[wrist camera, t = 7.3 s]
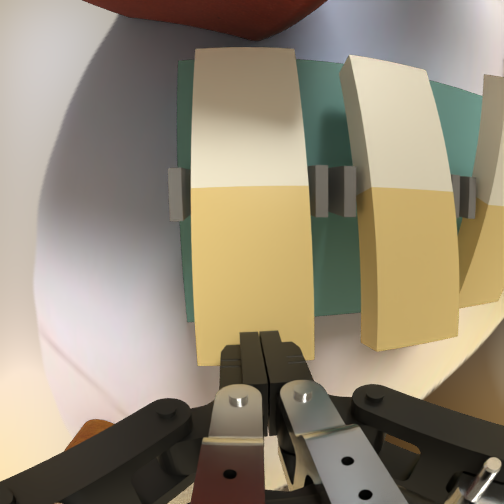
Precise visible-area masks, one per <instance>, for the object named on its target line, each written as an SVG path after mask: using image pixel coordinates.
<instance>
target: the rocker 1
mask: <svg viewBox="0 0 504 504" xmlns="http://www.w3.org/2000/svg"><path fill="white" fill-rule="evenodd" d="M191 243H192V276H193V299H194V318H195V335H196V350H197V363H198V366H220V358H221V351H222V350H223V349H224V347H225V346H226V345H240V334H239V332H257V331H258V334H259V331H274V330H278V332H279V335H280V338H281V341H282V342H291V341H292V342H293V343H295V344H296V345H297V346H299V347H300V349H301V351H302V354H303V356H304V358H305V360H314V285H313V256H312V234H311V216H310V200H309V185H308V172H307V159H306V148H305V137H304V126H303V117H302V107H301V98H300V89H299V81H298V73H297V65H296V57H295V50H294V49H289V48H265V47H226V48H203V49H195V62H194V80H193V103H192V134H191Z"/></svg>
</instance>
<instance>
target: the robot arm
mask: <svg viewBox="0 0 504 504" xmlns="http://www.w3.org/2000/svg"><path fill="white" fill-rule="evenodd" d="M239 334H240V345H226V346H225V347H224V349H223V350H222V351H221V358H220V386H219V391H218V392H217V393H216V396H215V400H214V401H212V402H211V403H209V404H207V405H204V406H201V407H197V408H192V409H190V407H189V405H188V404H186V403H185V402H183V401H181V400H178V399H173V398H165V399H160V400H156V401H154V402H152V403H150V404H149V405H147V406H145V407H143V408H142V409H140V410H138V411H137V412H135V413H133V414H132V415H130V416H128V417H126V418H125V419H123V420H121V421H119V422H118V423H116V424H114V425H112V426H111V427H109V428H107V429H105V430H103V431H102V432H100V433H98V434H96V435H94V436H92V437H91V438H89V439H87V440H85V441H83V442H81V443H79V444H77V445H76V446H74V447H72V448H70V449H68V450H66V451H64V452H62V453H60V454H58V455H56V456H54V457H52V458H50V459H49V460H46V461H44V462H42V463H40V464H38V465H36V466H34V467H32V468H29V469H27V470H25V471H23V472H21V473H19V474H17V475H14V476H12V477H10V478H8V479H6V480H3V481H1V482H0V504H167V503H168V502H170V501H171V500H172V499H173V498H175V497H176V496H177V495H179V494H180V493H181V492H182V491H184V490H185V489H186V488H187V487H189V486H190V485H191V484H192V483H193V482H194V487H193V493H192V498H191V502H190V503H187V504H504V426H502V425H499V424H495V423H491V422H488V421H485V420H482V419H478V418H475V417H472V416H468V415H465V414H462V413H459V412H456V411H453V410H450V409H447V408H444V407H441V406H438V405H435V404H432V403H429V402H426V401H423V400H420V399H418V398H415V397H412V396H409V395H406V394H404V393H401V392H398V391H396V390H393V389H390V388H388V387H385V386H382V385H376V384H370V385H364V386H361V387H359V388H357V389H356V390H355V391H354V393H353V395H352V397H339V396H332V395H329V394H327V392H326V391H325V389H324V388H323V386H321V385H320V384H318V383H316V382H314V380H313V378H312V375H311V373H310V370H309V368H308V366H307V363H306V361H305V358H304V356H303V354H302V351H301V349H300V347H299V346H297V345H296V344H295V343H293V342H292V341H291V342H282V341H281V338H280V335H279V332H278V330H274V331H259V334H258V331H257V332H239ZM268 430H269V436H276V435H277V438H278V455H279V458H280V461H281V465H282V468H283V471H284V475H285V478H286V481H287V484H288V488H289V492H284V491H273V490H265V481H264V436H268ZM386 433H387V434H389V435H391V436H394V437H396V438H399V439H401V440H404V441H406V442H408V443H411V444H413V445H415V446H417V447H418V448H419V450H420V452H421V454H416V453H413V452H410V451H408V450H406V449H403V448H401V447H398V446H396V445H394V444H391V443H389V442H387V441H384V439H385V436H386Z"/></svg>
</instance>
